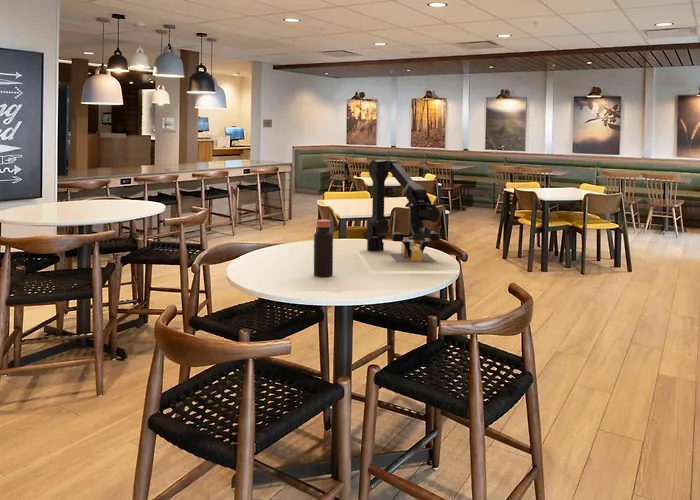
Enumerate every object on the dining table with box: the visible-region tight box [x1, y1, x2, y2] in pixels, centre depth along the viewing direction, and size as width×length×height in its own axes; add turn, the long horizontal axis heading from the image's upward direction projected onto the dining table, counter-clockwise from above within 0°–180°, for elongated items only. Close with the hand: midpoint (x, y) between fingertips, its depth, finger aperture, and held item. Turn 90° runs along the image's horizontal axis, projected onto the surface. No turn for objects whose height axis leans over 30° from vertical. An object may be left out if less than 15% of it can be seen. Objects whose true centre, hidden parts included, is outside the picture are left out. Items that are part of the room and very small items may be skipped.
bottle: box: [313, 219, 334, 278], centre depth 220 cm, size 7×7×20 cm
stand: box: [389, 239, 438, 263], centre depth 250 cm, size 16×18×8 cm
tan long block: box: [400, 243, 423, 263], centre depth 249 cm, size 15×6×4 cm, turn 6°
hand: (414, 257), depth 246 cm, fingers closed on tan long block, 4 cm apart
